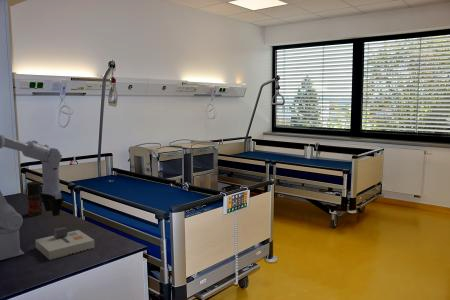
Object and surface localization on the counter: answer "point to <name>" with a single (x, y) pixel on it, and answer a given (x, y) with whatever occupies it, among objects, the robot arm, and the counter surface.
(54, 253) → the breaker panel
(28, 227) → the counter surface
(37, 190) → the deodorant
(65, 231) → the handle
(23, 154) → the robot arm
